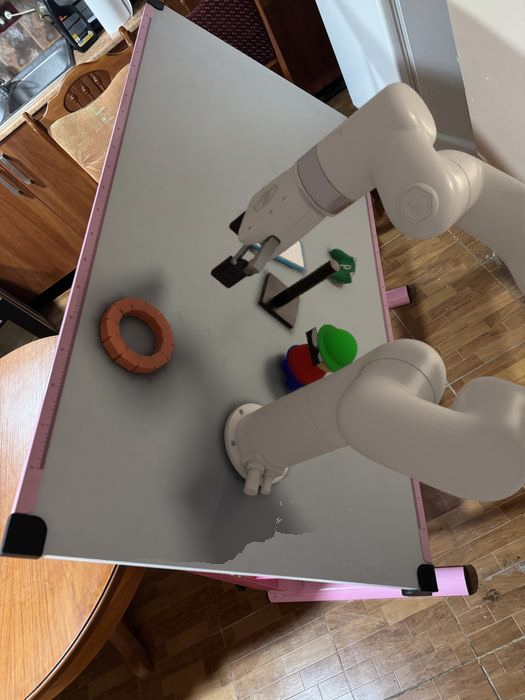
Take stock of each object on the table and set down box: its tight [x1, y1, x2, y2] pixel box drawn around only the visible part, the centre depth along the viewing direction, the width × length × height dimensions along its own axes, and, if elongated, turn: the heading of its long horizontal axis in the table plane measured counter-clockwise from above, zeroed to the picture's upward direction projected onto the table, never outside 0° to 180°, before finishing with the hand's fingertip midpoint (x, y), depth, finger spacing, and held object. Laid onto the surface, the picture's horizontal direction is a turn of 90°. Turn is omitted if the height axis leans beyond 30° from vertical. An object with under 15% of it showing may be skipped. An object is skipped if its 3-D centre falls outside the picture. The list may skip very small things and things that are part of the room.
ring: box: [99, 297, 175, 374], centre depth 76 cm, size 10×10×2 cm
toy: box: [280, 323, 359, 392], centre depth 92 cm, size 9×9×15 cm
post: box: [258, 258, 340, 330], centre depth 99 cm, size 8×8×14 cm
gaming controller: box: [329, 248, 358, 285], centre depth 121 cm, size 9×4×6 cm
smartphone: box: [253, 239, 307, 272], centre depth 110 cm, size 8×1×15 cm
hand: (228, 255), depth 73 cm, fingers open, 9 cm apart
